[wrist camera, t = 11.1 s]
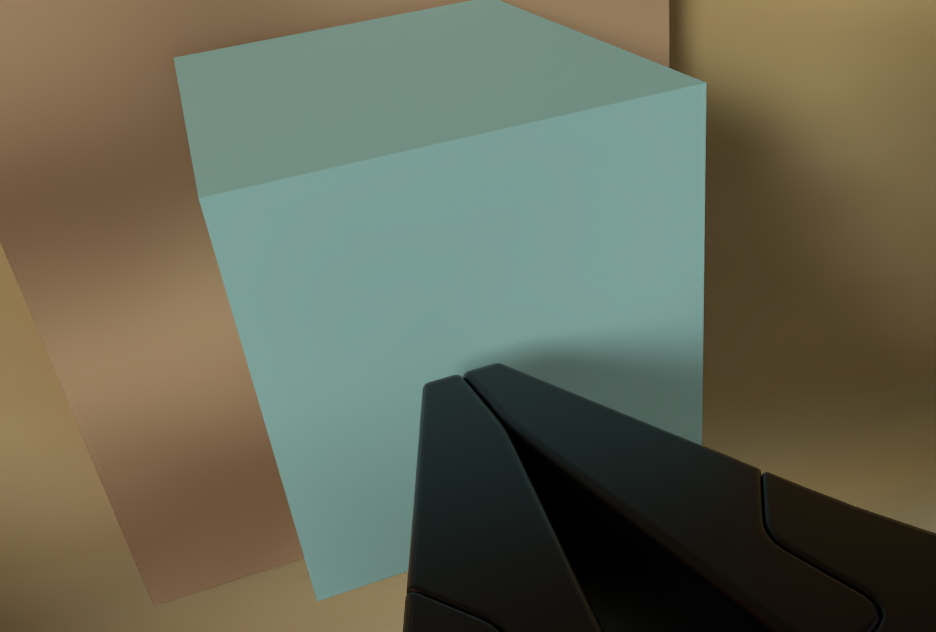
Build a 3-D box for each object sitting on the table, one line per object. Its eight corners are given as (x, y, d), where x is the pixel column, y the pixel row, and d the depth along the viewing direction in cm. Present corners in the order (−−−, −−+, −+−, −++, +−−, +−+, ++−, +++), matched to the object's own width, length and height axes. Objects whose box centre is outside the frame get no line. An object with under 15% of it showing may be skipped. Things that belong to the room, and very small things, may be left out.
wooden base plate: (654, 421, 22) (849, 634, 16) (153, 579, 19) (160, 906, 13) (640, -409, 14) (1023, -611, 8) (-225, -339, 11) (-644, -562, 5)
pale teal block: (519, 273, 17) (701, 471, 12) (255, 343, 16) (317, 601, 11) (490, -4, 15) (706, 82, 9) (173, 57, 14) (198, 197, 8)
